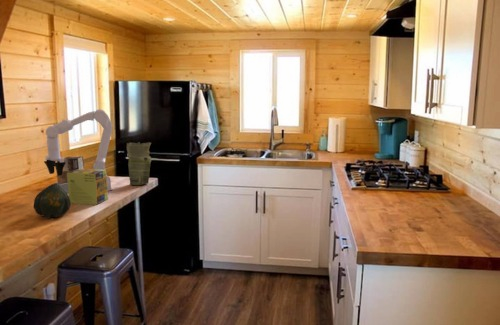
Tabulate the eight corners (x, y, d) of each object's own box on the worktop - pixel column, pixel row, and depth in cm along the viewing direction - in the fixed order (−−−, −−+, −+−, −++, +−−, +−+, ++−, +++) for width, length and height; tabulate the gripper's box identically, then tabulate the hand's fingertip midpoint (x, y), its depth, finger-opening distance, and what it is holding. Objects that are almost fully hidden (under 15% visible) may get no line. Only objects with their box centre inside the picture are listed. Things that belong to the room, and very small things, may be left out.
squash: (25, 210, 170) (49, 182, 172) (28, 203, 183) (51, 176, 186) (55, 229, 175) (78, 201, 178) (56, 220, 189) (78, 194, 191)
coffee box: (85, 183, 243) (83, 156, 240) (80, 185, 237) (78, 158, 234) (71, 183, 244) (68, 156, 241) (65, 185, 238) (62, 158, 235)
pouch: (126, 184, 241) (123, 141, 236) (143, 180, 250) (141, 139, 245) (137, 187, 234) (135, 143, 229) (154, 183, 243) (152, 141, 238)
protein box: (97, 205, 198) (95, 173, 195) (68, 203, 201) (66, 172, 198) (108, 199, 208) (106, 169, 205) (81, 197, 211) (78, 168, 208)
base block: (74, 192, 223) (73, 182, 222) (61, 194, 217) (60, 184, 217) (67, 190, 227) (67, 180, 226) (55, 192, 222) (54, 182, 221)
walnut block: (65, 181, 224) (64, 169, 223) (69, 182, 222) (68, 170, 221) (57, 182, 221) (56, 170, 220) (62, 183, 218) (61, 171, 217)
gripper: (38, 148, 216) (41, 174, 218) (53, 151, 207) (56, 177, 210) (51, 147, 221) (53, 171, 224) (66, 149, 213) (68, 175, 216)
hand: (55, 174), depth 217 cm, fingers open, 7 cm apart
